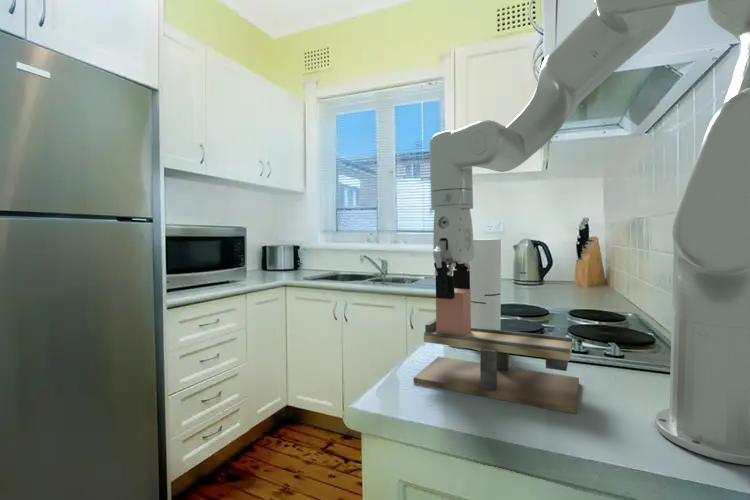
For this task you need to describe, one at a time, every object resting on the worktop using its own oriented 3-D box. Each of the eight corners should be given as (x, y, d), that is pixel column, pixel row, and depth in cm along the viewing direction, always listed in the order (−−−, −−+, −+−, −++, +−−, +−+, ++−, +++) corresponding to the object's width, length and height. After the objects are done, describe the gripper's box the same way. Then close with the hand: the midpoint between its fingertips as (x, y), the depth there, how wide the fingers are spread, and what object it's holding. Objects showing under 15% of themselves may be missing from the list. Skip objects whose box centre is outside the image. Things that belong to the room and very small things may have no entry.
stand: (578, 383, 70) (579, 341, 70) (575, 413, 59) (576, 363, 58) (438, 361, 83) (438, 325, 82) (413, 382, 71) (413, 341, 71)
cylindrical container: (504, 351, 89) (505, 239, 87) (472, 351, 89) (472, 239, 87) (495, 342, 96) (495, 238, 94) (465, 342, 96) (465, 238, 95)
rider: (470, 331, 75) (470, 289, 74) (463, 338, 70) (462, 293, 70) (445, 328, 77) (444, 287, 77) (436, 334, 73) (435, 291, 72)
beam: (572, 358, 68) (572, 329, 68) (569, 373, 61) (569, 341, 61) (438, 341, 80) (438, 316, 79) (423, 352, 73) (423, 325, 72)
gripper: (457, 196, 63) (459, 303, 64) (483, 202, 78) (485, 288, 79) (414, 200, 67) (416, 300, 68) (447, 205, 82) (449, 287, 83)
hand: (454, 294), depth 73 cm, fingers open, 9 cm apart
